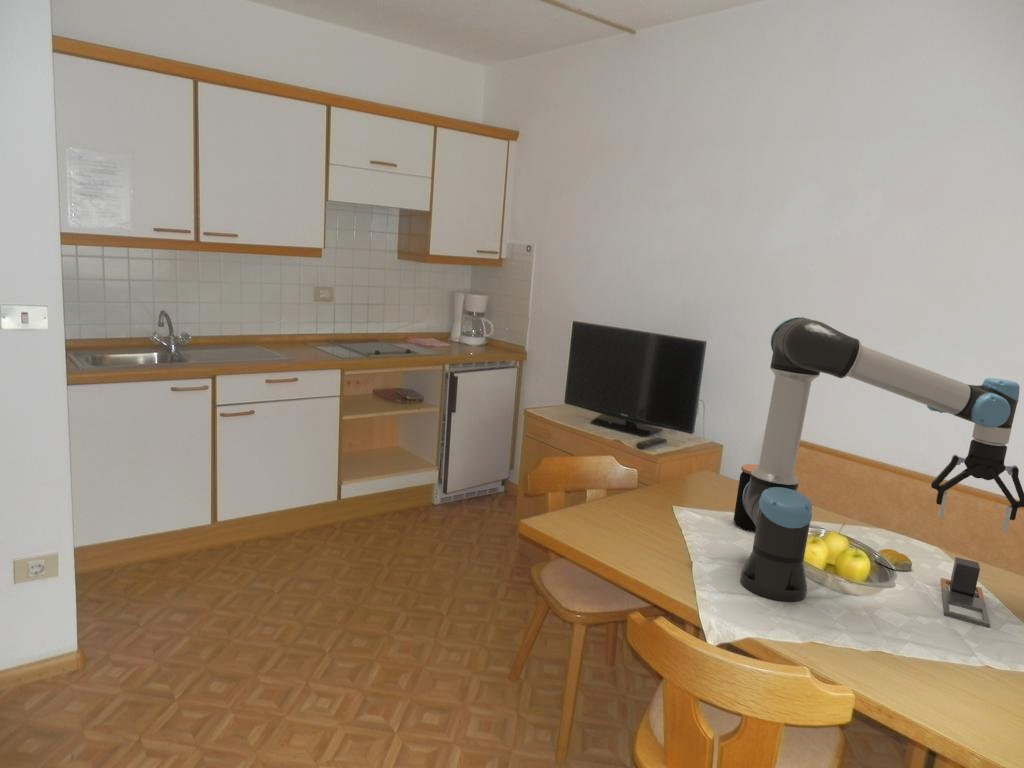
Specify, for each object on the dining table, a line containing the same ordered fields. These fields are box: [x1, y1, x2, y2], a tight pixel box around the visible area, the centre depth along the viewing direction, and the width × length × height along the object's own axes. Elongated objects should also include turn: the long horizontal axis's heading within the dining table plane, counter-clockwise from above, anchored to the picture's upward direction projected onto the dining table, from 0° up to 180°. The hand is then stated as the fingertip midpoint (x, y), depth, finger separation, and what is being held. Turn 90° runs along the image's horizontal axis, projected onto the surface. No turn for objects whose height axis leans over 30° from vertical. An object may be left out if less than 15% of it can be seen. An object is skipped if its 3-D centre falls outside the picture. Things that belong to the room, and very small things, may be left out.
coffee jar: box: [733, 463, 759, 532], centre depth 214 cm, size 11×11×18 cm
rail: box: [940, 577, 991, 628], centre depth 174 cm, size 24×9×1 cm, turn 151°
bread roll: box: [877, 548, 913, 572], centre depth 195 cm, size 8×9×4 cm
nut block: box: [949, 556, 981, 597], centre depth 179 cm, size 5×5×8 cm
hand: (971, 524), depth 177 cm, fingers open, 13 cm apart
